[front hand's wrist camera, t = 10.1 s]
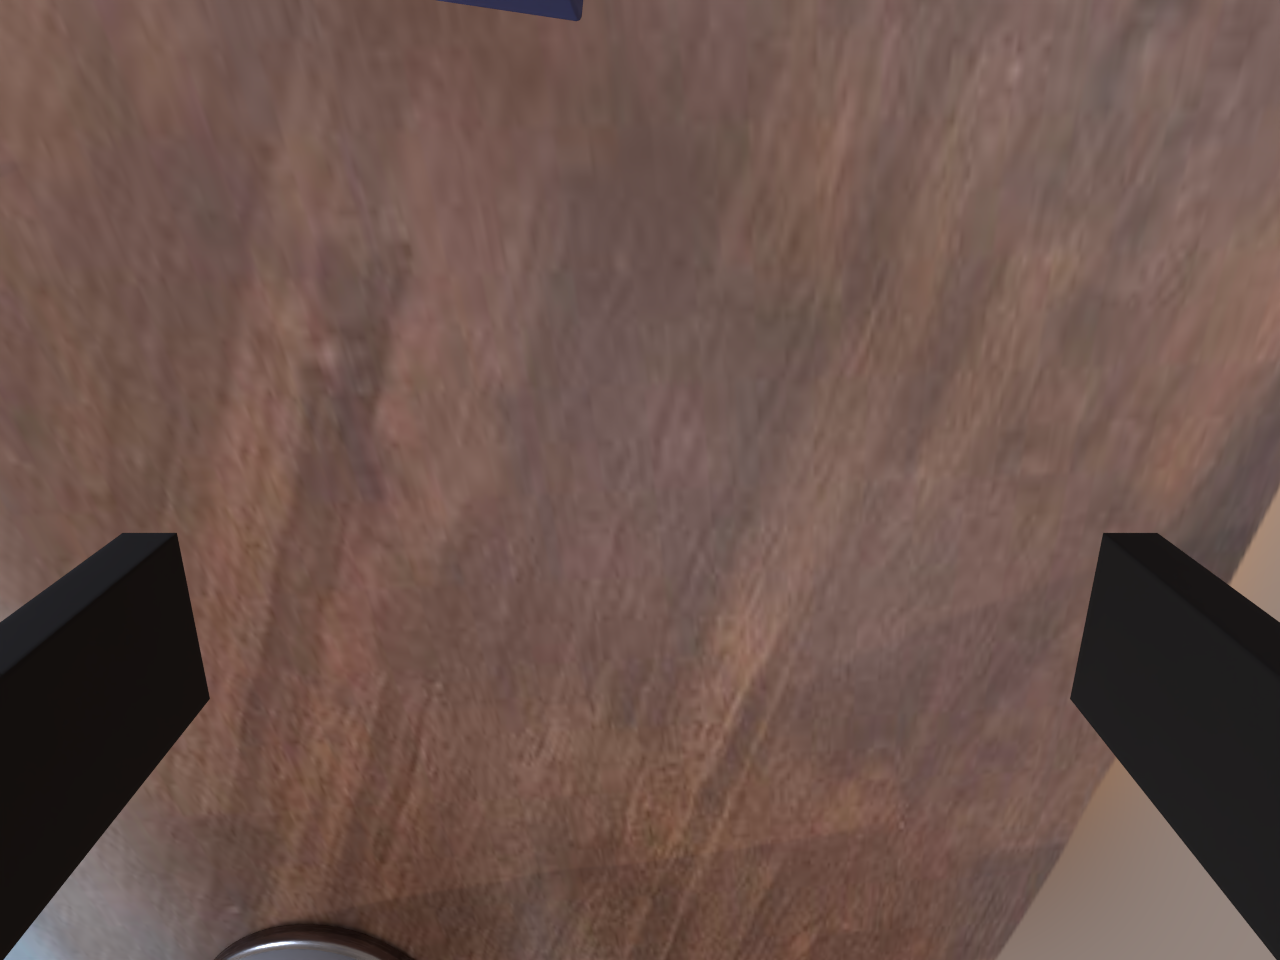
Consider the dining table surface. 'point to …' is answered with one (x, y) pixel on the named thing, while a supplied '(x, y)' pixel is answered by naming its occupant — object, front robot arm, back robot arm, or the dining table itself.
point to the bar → (532, 7)
